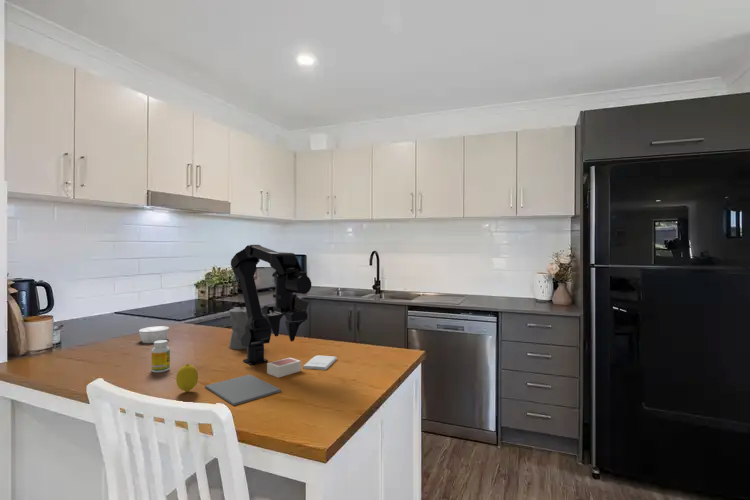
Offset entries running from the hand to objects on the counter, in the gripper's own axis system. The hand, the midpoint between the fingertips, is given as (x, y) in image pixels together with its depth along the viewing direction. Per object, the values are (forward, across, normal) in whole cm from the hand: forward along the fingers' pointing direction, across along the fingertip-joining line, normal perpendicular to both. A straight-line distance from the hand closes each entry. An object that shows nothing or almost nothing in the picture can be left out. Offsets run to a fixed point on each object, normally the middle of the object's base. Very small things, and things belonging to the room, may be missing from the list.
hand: (284, 338), depth 128 cm
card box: (+11, 0, 0) cm, 11 cm away
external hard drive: (+12, -1, -14) cm, 18 cm away
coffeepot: (+11, +41, -5) cm, 43 cm away
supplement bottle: (+11, +30, +28) cm, 42 cm away
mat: (+11, -5, +17) cm, 21 cm away
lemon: (+11, +4, +29) cm, 31 cm away
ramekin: (+12, +75, +17) cm, 78 cm away
